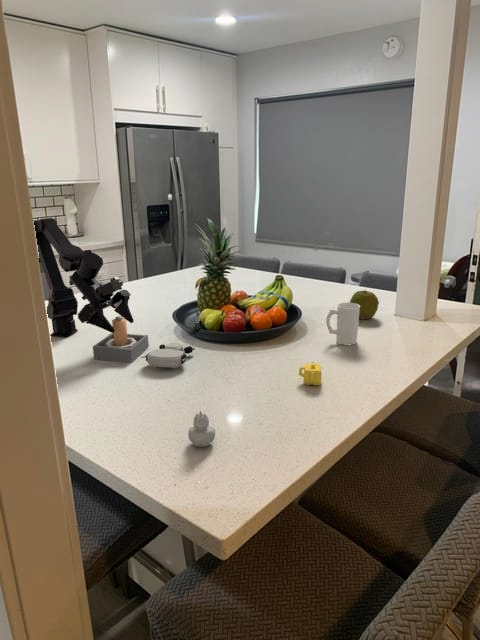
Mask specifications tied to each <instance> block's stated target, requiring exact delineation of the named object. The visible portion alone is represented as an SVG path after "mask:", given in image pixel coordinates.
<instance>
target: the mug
mask: <svg viewBox="0 0 480 640" xmlns="http://www.w3.org/2000/svg"><path fill="white" fill-rule="evenodd" d="M359 311H360V305H358V304H355V303H350V302H339V303H338V304H337V309H334V308H330V309H329V312H328V313H327V315H326V319H325V323H326V324H325V325H326V327H327V329H328V331H329V334H330V335H333V334H334V335H336V339H335V340H336V341H335V342H336V343H337V342H338V344H339V343H340V345H342V344H346V345H345V346H349V345H348V344H353V345H355V344H354V343H356V344H357V340H358V331H359V330H358V329H359V322H360V321H359V320H360V319H359ZM334 315H337V316H336V328H332V326H331V323H330V322H331V321H330V320H331V318H332V316H334Z"/></svg>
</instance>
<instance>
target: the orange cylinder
mask: <svg viewBox="0 0 480 640" xmlns="http://www.w3.org/2000/svg"><path fill="white" fill-rule="evenodd" d="M111 325H112V327H113V328H114V330H115V332H114V333H113V335H114V345H115V346H119V347H121V346H126V345H128V336H127V334H128V327H127V320H126V319H125V318H123V317H122V316H121V315H119V316H115V317H114V318H113V319H112V320H111Z"/></svg>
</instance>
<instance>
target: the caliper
mask: <svg viewBox="0 0 480 640" xmlns="http://www.w3.org/2000/svg"><path fill="white" fill-rule="evenodd" d="M200 313H201V311H196V315H195V324H196V323H199V321H200Z"/></svg>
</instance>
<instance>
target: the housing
mask: <svg viewBox="0 0 480 640" xmlns="http://www.w3.org/2000/svg"><path fill="white" fill-rule="evenodd" d="M127 336H128V345H126V346H121V347H119V346H115V345H114V335H113V333H111V332H110V334H108V335H107V336H106V337H104V338H103V339H101V340H100V341H98V342H97V343H96V344H94V345H92V352H93V360H99V361H110V362H121V363H129V364H130V363H134V361H136V360H137V359H138V358H139V357H141V356H142V354H143V353H145V351H147V350H146V349H147V348H148V347H149V348H150V346H149V335H147V334H137V333H136V334H135V333H127ZM149 348H148V349H149Z"/></svg>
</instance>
